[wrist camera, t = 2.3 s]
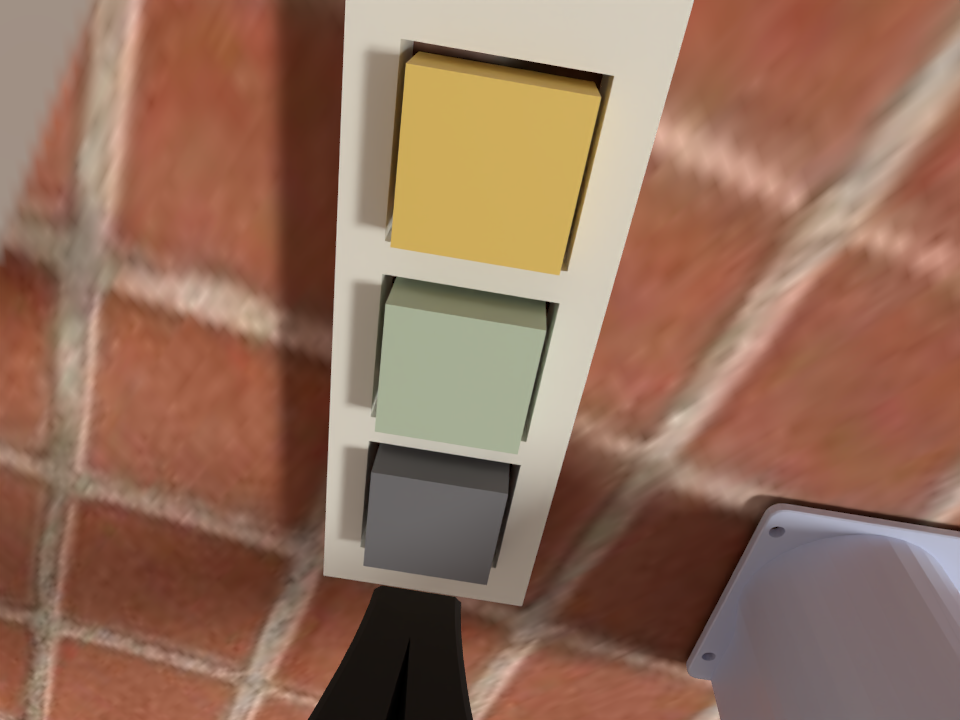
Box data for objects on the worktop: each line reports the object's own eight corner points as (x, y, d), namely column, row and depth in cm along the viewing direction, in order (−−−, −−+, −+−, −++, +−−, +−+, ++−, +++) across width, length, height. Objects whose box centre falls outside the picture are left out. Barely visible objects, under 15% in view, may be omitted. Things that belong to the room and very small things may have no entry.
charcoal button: (489, 542, 23) (486, 585, 21) (374, 524, 23) (363, 566, 21) (510, 453, 21) (508, 493, 19) (383, 433, 21) (371, 472, 19)
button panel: (522, 561, 25) (522, 606, 23) (337, 532, 25) (323, 575, 23) (676, -10, 15) (694, -4, 13) (369, -65, 15) (348, -66, 13)
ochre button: (557, 246, 17) (559, 275, 16) (402, 220, 17) (390, 247, 16) (594, 82, 15) (601, 97, 14) (418, 51, 15) (405, 63, 13)
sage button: (518, 415, 20) (517, 454, 19) (386, 394, 20) (374, 431, 18) (545, 297, 18) (546, 330, 16) (398, 273, 18) (385, 303, 16)
